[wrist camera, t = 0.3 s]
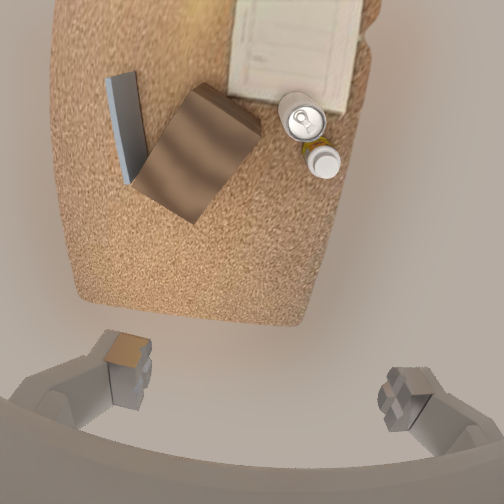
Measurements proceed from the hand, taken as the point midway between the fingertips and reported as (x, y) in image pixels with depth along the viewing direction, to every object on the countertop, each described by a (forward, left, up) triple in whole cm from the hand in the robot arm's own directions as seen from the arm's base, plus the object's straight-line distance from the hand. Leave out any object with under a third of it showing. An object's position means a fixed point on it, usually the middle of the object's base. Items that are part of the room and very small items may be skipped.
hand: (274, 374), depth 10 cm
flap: (+17, -14, -50) cm, 54 cm away
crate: (+12, -2, -51) cm, 52 cm away
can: (-4, +5, -51) cm, 52 cm away
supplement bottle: (-2, +13, -51) cm, 53 cm away
